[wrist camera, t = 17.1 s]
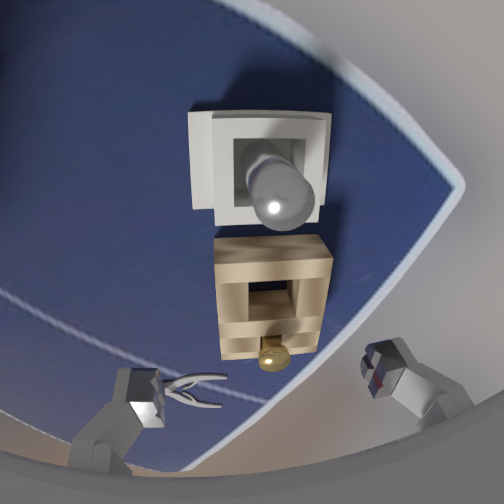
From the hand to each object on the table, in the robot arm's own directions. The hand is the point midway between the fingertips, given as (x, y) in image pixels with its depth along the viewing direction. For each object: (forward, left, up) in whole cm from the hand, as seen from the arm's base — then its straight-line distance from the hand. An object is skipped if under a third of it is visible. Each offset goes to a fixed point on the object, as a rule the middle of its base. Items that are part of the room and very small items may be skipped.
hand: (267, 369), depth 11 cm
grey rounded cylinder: (+3, +2, -23) cm, 23 cm away
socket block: (+4, -14, -24) cm, 28 cm away
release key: (+4, -18, -24) cm, 30 cm away
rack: (+3, +2, -24) cm, 24 cm away
